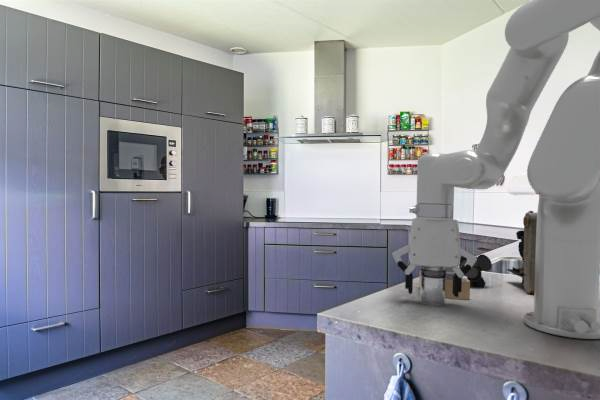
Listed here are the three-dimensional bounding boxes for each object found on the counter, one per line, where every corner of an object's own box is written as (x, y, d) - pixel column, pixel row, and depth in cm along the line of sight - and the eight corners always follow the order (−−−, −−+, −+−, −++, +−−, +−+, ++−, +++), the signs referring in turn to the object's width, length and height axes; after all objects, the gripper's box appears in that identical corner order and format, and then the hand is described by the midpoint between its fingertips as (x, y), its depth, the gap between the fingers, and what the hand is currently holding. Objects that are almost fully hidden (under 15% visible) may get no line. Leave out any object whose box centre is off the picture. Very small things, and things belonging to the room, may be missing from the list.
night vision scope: (464, 284, 121) (494, 264, 118) (469, 299, 104) (504, 276, 102) (446, 262, 122) (475, 241, 120) (448, 273, 105) (482, 250, 103)
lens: (446, 307, 86) (448, 268, 86) (420, 305, 87) (421, 266, 87) (443, 301, 91) (444, 264, 91) (418, 299, 92) (419, 263, 92)
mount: (469, 299, 92) (470, 274, 92) (422, 296, 94) (423, 272, 94) (461, 289, 102) (462, 267, 102) (419, 287, 104) (419, 265, 104)
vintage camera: (541, 285, 112) (540, 211, 113) (572, 296, 97) (571, 211, 98) (503, 284, 113) (503, 211, 114) (529, 295, 98) (528, 210, 99)
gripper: (393, 212, 87) (390, 295, 87) (482, 214, 83) (480, 301, 83) (392, 210, 94) (390, 287, 94) (474, 213, 90) (472, 292, 91)
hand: (432, 293), depth 89 cm, fingers open, 8 cm apart
